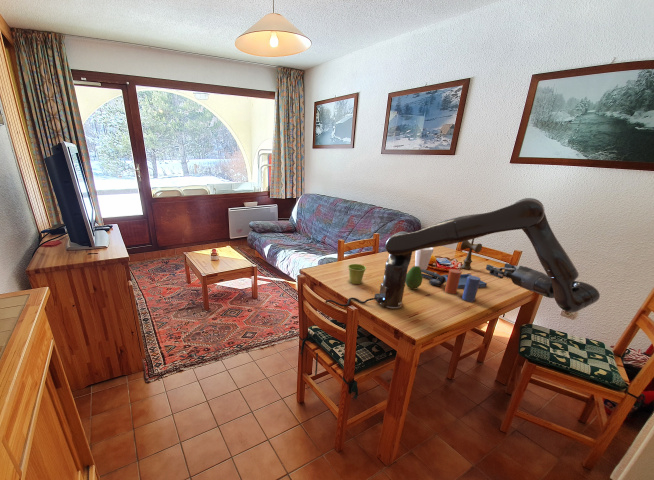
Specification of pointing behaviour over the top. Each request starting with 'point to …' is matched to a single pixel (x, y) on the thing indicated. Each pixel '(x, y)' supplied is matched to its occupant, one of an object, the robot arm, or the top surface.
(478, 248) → the kendama
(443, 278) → the can opener
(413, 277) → the fruit
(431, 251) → the foam cup
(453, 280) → the terracotta tin
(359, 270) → the plant pot
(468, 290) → the blue tin
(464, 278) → the blue tray
